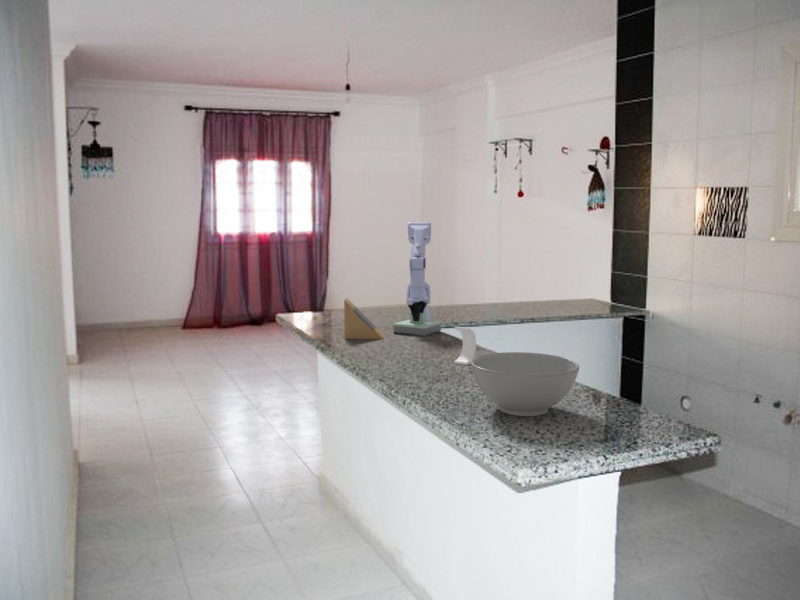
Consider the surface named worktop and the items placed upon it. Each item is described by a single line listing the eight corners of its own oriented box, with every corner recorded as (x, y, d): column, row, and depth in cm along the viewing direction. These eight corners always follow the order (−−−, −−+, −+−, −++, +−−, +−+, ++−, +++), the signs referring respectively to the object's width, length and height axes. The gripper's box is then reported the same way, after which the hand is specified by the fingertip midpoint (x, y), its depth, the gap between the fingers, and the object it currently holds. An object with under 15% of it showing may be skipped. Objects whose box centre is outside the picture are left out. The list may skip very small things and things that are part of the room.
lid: (410, 322, 310) (410, 309, 310) (440, 325, 303) (440, 311, 303) (393, 327, 298) (393, 313, 298) (424, 330, 291) (424, 316, 291)
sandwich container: (384, 339, 286) (384, 300, 284) (344, 339, 286) (344, 300, 284) (385, 335, 294) (385, 297, 292) (346, 335, 295) (346, 297, 293)
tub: (410, 328, 311) (410, 320, 310) (440, 330, 304) (440, 323, 303) (393, 333, 299) (393, 325, 298) (424, 336, 292) (424, 328, 291)
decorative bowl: (448, 405, 192) (449, 359, 191) (524, 391, 208) (525, 348, 206) (522, 432, 171) (523, 380, 169) (600, 413, 186) (602, 365, 184)
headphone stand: (454, 363, 243) (454, 326, 241) (463, 360, 248) (464, 324, 246) (466, 365, 240) (467, 328, 239) (475, 362, 245) (476, 325, 243)
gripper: (417, 289, 291) (417, 324, 292) (434, 285, 303) (434, 319, 305) (401, 288, 294) (401, 322, 296) (419, 284, 306) (419, 317, 308)
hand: (417, 320), depth 301 cm, fingers closed on lid
